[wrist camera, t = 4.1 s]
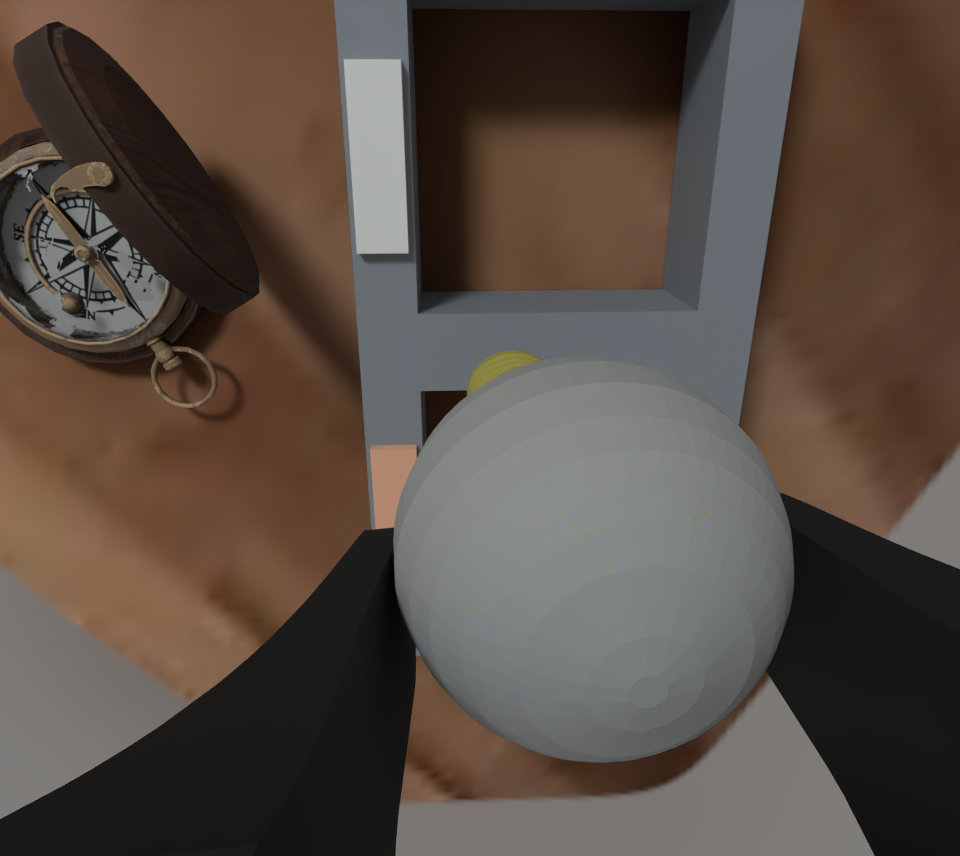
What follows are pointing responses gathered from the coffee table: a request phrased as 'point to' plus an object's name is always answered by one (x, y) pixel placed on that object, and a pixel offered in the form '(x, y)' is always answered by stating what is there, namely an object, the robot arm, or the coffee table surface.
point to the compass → (109, 216)
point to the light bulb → (592, 557)
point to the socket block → (562, 313)
